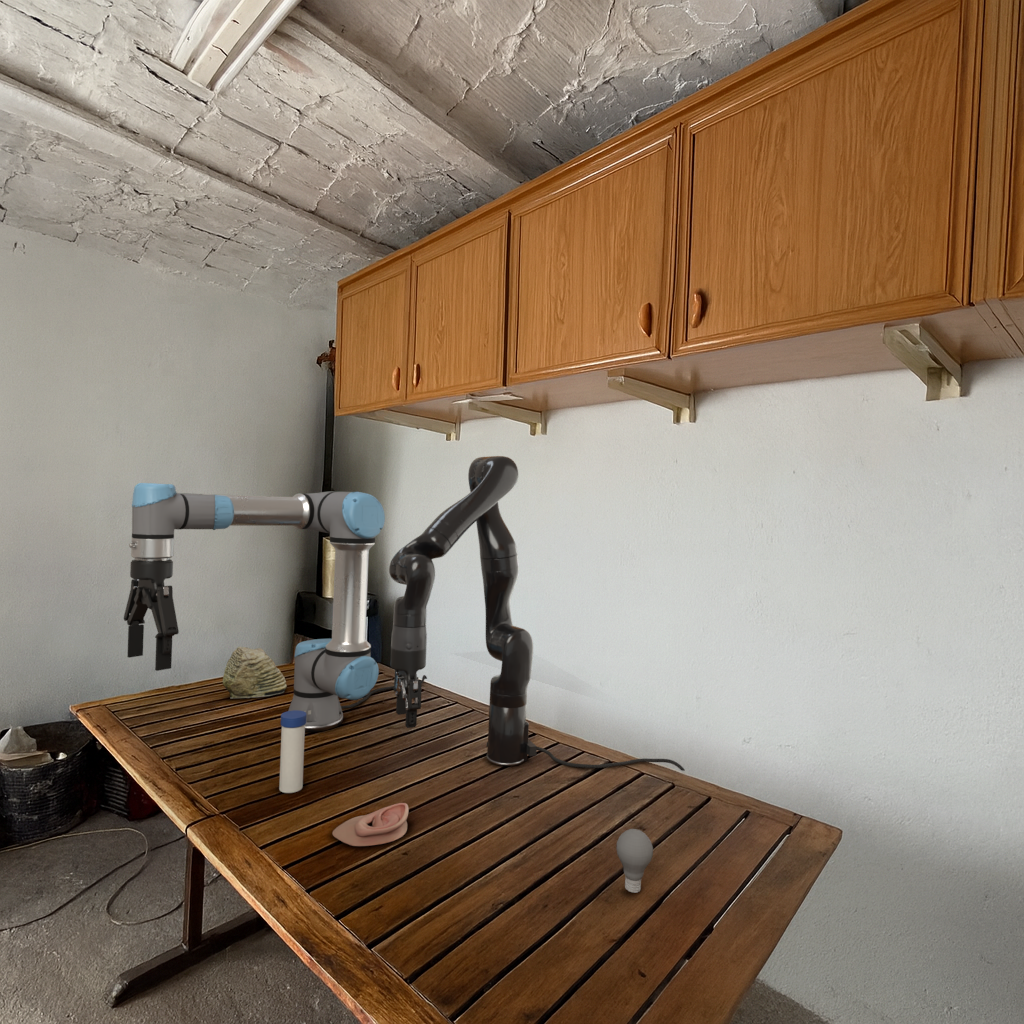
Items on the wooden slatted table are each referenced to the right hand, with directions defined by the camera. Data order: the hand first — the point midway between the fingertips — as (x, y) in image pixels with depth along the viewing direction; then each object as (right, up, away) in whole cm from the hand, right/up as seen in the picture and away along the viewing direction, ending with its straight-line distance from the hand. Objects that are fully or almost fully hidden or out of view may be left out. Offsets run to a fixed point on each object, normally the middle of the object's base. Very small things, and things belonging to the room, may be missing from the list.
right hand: (405, 720), depth 136 cm
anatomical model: (-4, -16, -16) cm, 23 cm away
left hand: (-51, +14, -7) cm, 54 cm away
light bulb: (+43, -19, -31) cm, 56 cm away
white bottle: (-25, -15, +1) cm, 29 cm away
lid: (-24, +1, +1) cm, 24 cm away
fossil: (-58, -12, +62) cm, 85 cm away
